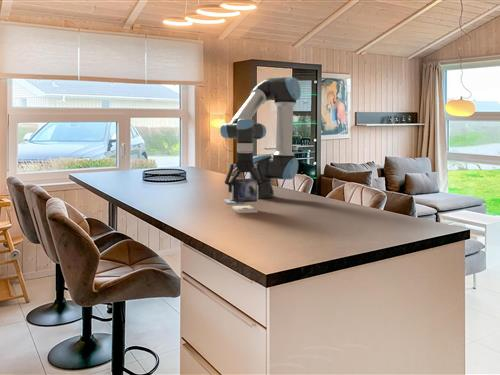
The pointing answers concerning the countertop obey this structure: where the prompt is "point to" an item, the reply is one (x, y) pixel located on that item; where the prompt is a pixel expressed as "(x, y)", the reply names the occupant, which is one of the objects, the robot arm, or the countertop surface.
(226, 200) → the pad
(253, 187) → the small box
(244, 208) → the pad
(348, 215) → the countertop surface
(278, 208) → the countertop surface
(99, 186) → the countertop surface
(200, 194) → the countertop surface
